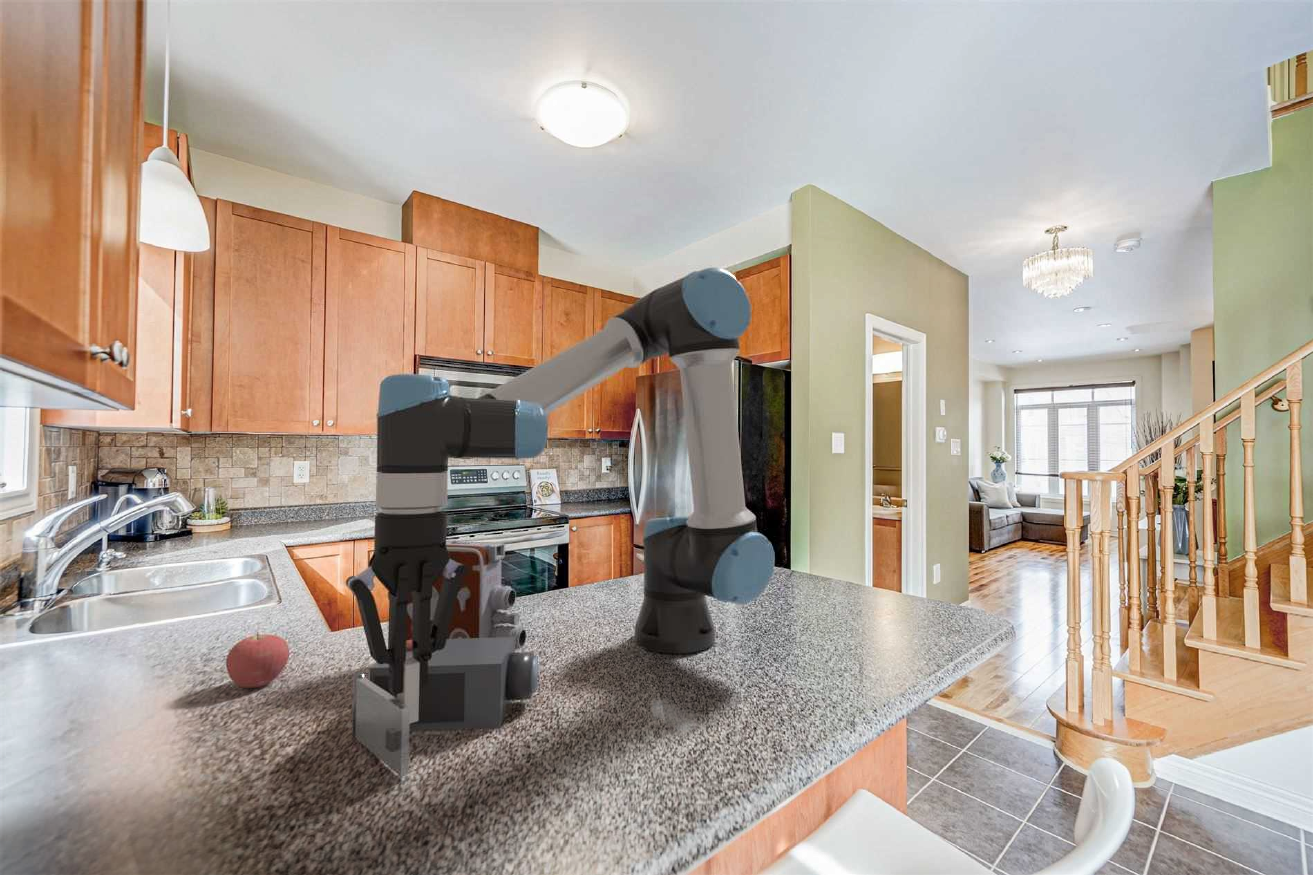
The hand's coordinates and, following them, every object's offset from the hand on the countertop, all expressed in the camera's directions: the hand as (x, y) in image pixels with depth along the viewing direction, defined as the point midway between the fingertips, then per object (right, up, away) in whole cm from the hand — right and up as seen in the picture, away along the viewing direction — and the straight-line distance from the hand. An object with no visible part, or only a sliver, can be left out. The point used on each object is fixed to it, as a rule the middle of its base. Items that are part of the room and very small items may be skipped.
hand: (407, 718), depth 60 cm
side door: (-4, -4, 0) cm, 6 cm away
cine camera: (-3, -6, +28) cm, 29 cm away
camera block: (+2, -5, +11) cm, 13 cm away
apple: (-32, -6, +19) cm, 38 cm away
